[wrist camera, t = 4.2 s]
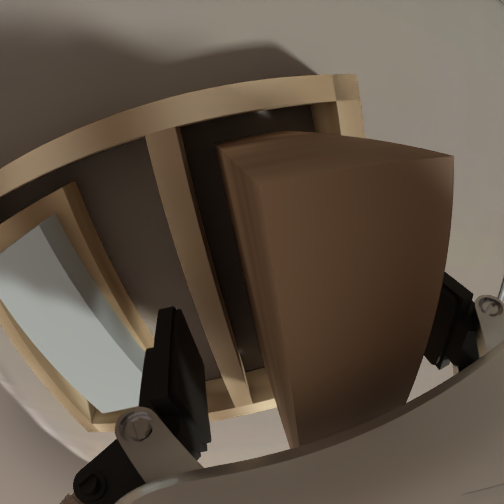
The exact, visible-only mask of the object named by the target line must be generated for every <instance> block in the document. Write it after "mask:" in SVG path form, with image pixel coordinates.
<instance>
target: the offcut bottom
mask: <svg viewBox="0 0 504 504" xmlns="http://www.w3.org/2000/svg"><path fill="white" fill-rule="evenodd" d="M53 214H56V216H57V218H58V220H59V221H60V223H61V225H62V227H63V229H64V231H65V233H66V235H67V236H68V238H69V240H70V242H71V244H72V245H73V247H74V249H75V251H76V252H77V254H78V256H79V258H80V259H81V261H82V263H83V264H84V266H85V268H86V269H87V271H88V272H89V274H90V276H91V277H92V279H93V280H94V282H95V283H96V285H97V287H98V288H99V290H100V291H101V293H102V294H103V296H104V297H105V299H106V300H107V301H108V303H109V304H110V306H111V307H112V309H113V310H114V311H115V313H116V314H117V316H118V317H119V318H120V320H121V321H122V323H123V324H124V325H125V327H126V328H127V329H128V331H129V332H130V333H131V335H132V336H133V337H134V338H135V340H136V341H137V342H138V344H139V345H140V346H141V347H142V349H143V350H144V351H145V352H146V349H147V348H152V347H154V338H153V337H152V335H151V334H150V332H149V330H148V329H147V327H146V325H145V324H144V322H143V320H142V319H141V317H140V315H139V314H138V312H137V310H136V308H135V307H134V305H133V303H132V301H131V299H130V298H129V296H128V294H127V292H126V290H125V289H124V287H123V285H122V283H121V281H120V279H119V277H118V275H117V273H116V271H115V269H114V267H113V265H112V263H111V261H110V259H109V257H108V255H107V253H106V251H105V249H104V247H103V245H102V243H101V241H100V238H99V236H98V234H97V232H96V230H95V227H94V225H93V223H92V220H91V218H90V216H89V213H88V211H87V209H86V206H85V204H84V201H83V199H82V196H81V194H80V191H79V188H78V186H77V183H76V181H74V182H72V183H70V184H68V185H66V186H64V187H62V188H60V189H58V190H56V191H55V192H53V193H51V194H49V195H47V196H45V197H44V198H42V199H40V200H38V201H37V202H35V203H33V204H32V205H30V206H28V207H27V208H25V209H23V210H22V211H20V212H18V213H17V214H15V215H14V216H12V217H11V218H9V219H7V220H6V221H4V222H3V223H1V224H0V253H1V252H2V251H3V250H4V249H6V248H7V247H8V246H10V245H11V244H12V243H13V242H15V241H16V240H17V239H19V238H20V237H22V236H23V235H24V234H26V233H27V232H28V231H30V230H31V229H33V228H34V227H36V226H37V225H38V224H40V223H41V222H43V221H44V220H46V219H47V218H49V217H50V216H52V215H53Z"/></svg>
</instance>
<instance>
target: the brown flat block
mask: <svg viewBox="0 0 504 504" xmlns="http://www.w3.org/2000/svg"><path fill="white" fill-rule="evenodd" d="M214 145H215V150H216V155H217V160H218V164H219V169H220V174H221V178H222V183H223V188H224V192H225V197H226V202H227V206H228V211H229V215H230V220H231V224H232V229H233V233H234V238H235V242H236V247H237V251H238V256H239V260H240V265H241V269H242V274H243V278H244V282H245V287H246V291H247V295H248V300H249V304H250V308H251V313H252V317H253V321H254V326H255V330H256V334H257V338H258V343H259V347H260V351H261V355H262V359H263V362H264V366H265V369H266V372H267V375H268V379H269V382H270V385H271V388H272V392H273V395H274V398H275V401H276V405H277V408H278V411H279V414H280V417H281V421H282V424H283V427H284V430H285V433H286V436H287V439H288V443H289V446H290V449H292V448H296V447H299V446H302V445H306V444H309V443H312V442H315V441H318V440H321V439H324V438H327V437H330V436H332V435H335V434H338V433H341V432H343V431H346V430H348V429H351V428H353V427H356V426H358V425H361V424H363V423H365V422H368V421H370V420H372V419H375V418H377V417H379V416H381V415H383V414H386V413H388V412H390V411H392V410H394V409H396V408H398V407H400V406H402V405H404V404H406V401H407V399H408V397H409V394H410V392H411V389H412V386H413V384H414V381H415V379H416V376H417V373H418V370H419V367H420V364H421V362H422V359H423V355H424V352H425V349H426V346H427V343H428V339H429V336H430V332H431V329H432V325H433V321H434V317H435V313H436V309H437V305H438V301H439V296H440V292H441V287H442V282H443V277H444V271H445V265H446V259H447V252H448V245H449V237H450V228H451V218H452V205H453V185H454V156H451V155H447V154H443V153H439V152H435V151H431V150H426V149H422V148H417V147H412V146H407V145H402V144H396V143H391V142H385V141H379V140H373V139H366V138H359V137H351V136H343V135H334V134H325V133H314V132H301V131H278V132H272V133H266V134H260V135H254V136H249V137H243V138H238V139H233V140H228V141H224V142H219V143H214Z"/></svg>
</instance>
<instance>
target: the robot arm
mask: <svg viewBox="0 0 504 504" xmlns="http://www.w3.org/2000/svg"><path fill="white" fill-rule="evenodd" d="M500 1H502V2H503V3H504V0H500ZM472 298H473V293H471V292H470V291H469V290H468V289H466V288H465V287H464V286H463V285H461V284H460V283H459V282H457V281H456V280H455V279H454V278H452V277H451V276H450V275H448V274H447V273H446V272H444V277H443V282H442V287H441V292H440V296H439V301H438V305H437V309H436V313H435V317H434V321H433V325H432V329H431V332H430V336H429V339H428V343H427V346H426V349H425V352H424V356H425V357H426V358H427V359H428V361H429V362H430V363H431V364H433V365H436V366H437V368H438V369H439V370H440V369H442V368H444V367H445V366H447V365H449V363H450V361H451V363H452V364H453V372H454V376H453V377H451V378H450V379H448V380H446V381H445V382H443V383H441V384H440V385H438V386H436V387H435V388H433V389H431V390H430V391H428V392H426V393H424V394H423V395H421V396H419V397H417V398H415V399H413V400H412V401H410V402H408V403H406V404H404V405H402V406H400V407H398V408H396V409H394V410H392V411H390V412H388V413H386V414H383V415H381V416H379V417H377V418H375V419H372V420H370V421H368V422H365V423H363V424H361V425H358V426H356V427H353V428H351V429H348V430H346V431H343V432H341V433H338V434H335V435H332V436H330V437H327V438H324V439H321V440H318V441H315V442H312V443H309V444H306V445H302V446H299V447H296V448H292V449H289V450H285V451H281V452H278V453H274V454H270V455H266V456H262V457H258V458H253V459H249V460H244V461H240V462H235V463H229V464H224V465H218V466H213V467H208V468H204V467H203V466H202V465H201V464H200V463H199V462H198V461H197V460H198V459H199V458H200V457H201V453H200V452H204V451H207V443H210V442H211V433H210V424H209V415H208V405H207V395H206V384H205V372H204V365H203V361H202V358H201V356H200V354H199V351H198V349H197V347H196V344H195V342H194V340H193V337H192V335H191V333H190V330H189V328H188V325H187V323H186V320H185V318H184V315H183V313H182V310H181V309H178V310H176V308H175V307H174V306H173V307H169V308H164V309H160V310H159V312H158V318H157V325H156V332H155V339H154V347H152V348H147V349H146V352H145V357H144V364H143V371H142V379H141V387H140V396H139V406H138V407H135V408H131V409H129V410H127V411H125V412H124V413H123V414H122V415H121V416H120V417H119V418H118V420H117V422H116V425H115V435H116V438H117V439H116V440H115V441H114V442H113V443H111V444H110V445H109V446H108V447H107V448H106V449H105V450H103V451H102V452H101V453H100V454H99V455H98V456H96V457H95V458H94V459H93V460H92V461H91V462H89V463H88V464H87V465H86V466H85V467H84V468H82V469H81V470H80V471H79V472H78V473H77V474H76V476H75V479H74V483H73V489H74V493H73V494H72V495H70V494H67V495H66V497H65V498H64V499H63V500H62V502H61V503H60V504H504V303H503V302H502V301H501V300H500V299H498V298H497V297H494V296H491V295H482V296H479V297H478V298H477V299H476V300H475V303H474V302H473V301H472Z"/></svg>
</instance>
